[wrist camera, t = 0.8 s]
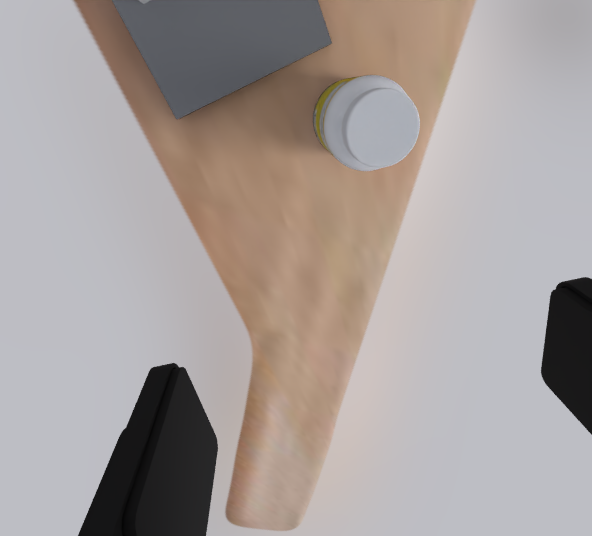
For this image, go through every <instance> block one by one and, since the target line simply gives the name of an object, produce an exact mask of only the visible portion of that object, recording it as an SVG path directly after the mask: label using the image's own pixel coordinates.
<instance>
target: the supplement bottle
mask: <svg viewBox="0 0 592 536" xmlns="http://www.w3.org/2000/svg"><path fill="white" fill-rule="evenodd" d="M313 126H314V131H315V134H316V136H317V138H318V140H319V141H320V143H321V144H322V145H323V147H325V148H326V149H327V150H328V151H329V152H330V153H331V154H332V155H333V156H334V157H335V158H336V159H337V160H339V161H340V162H341V163H342V164H344V165H345V166H347V167H349V168H352V169H355V170H359V171H373V170H377V169H380V168H383V167H388V166H391V165H394V164H396V163H398V162H399V161H401V160H402V159H403V158H405V157H406V156H407V155H408V153H409V152H410V151H411V150H412V148H413V146H414V145H415V143H416V140H417V138H418V134H419V129H420V120H419V114H418V111H417V108H416V106H415V104H414V103H413V101H412V100H411V99H410V98H409V97H408V95H407V94H406V92H405V91H404V90H403V88H402V87H401V86H400V85H398V84H397V83H396V82H394V81H393V80H391V79H389V78H386V77H383V76H378V75H366V76H360V77H354V78H348V79H343V80H340V81H338V82H336V83H334V84H332V85H331V86H329V87H328V88H327V89H326V90H325V91H324V92H323V93H322V94H321V96H320V97H319V99H318V101H317V103H316V105H315V109H314V113H313Z"/></svg>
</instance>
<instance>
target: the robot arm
mask: <svg viewBox="0 0 592 536" xmlns="http://www.w3.org/2000/svg"><path fill="white" fill-rule="evenodd" d="M541 374H542V377H543V380H544V382H545V383H546V385H547V386H548V387H549V388H550V389H551V390H552V391H553V392H554V394H555V395H556V396H557V397H558V398H559V399H560V400H561V401H562V402H563V404H565V406H566V407H567V408H568V409H569V410H570V411H571V412H572V413H573V414H574V416H575V417H576V418H577V419H578V420H579V421H580V422H581V423H582V424H583V425H584V427H585V428H586V429H587V430H588V431H589V432H590V433H591V434H592V279H590V278H586V277H585V278H579V279H574V280H569V281H565V282H561V283H559V284H558V285H557V287H556V289H555V290H553V291H552V292H551V296H550V304H549V312H548V320H547V328H546V336H545V344H544V352H543V359H542V367H541ZM217 451H218V444H217V438H216V435H215V433H214V431H213V428H212V426H211V424H210V422H209V420H208V417H207V415H206V413H205V411H204V409H203V406H202V404H201V402H200V400H199V397H198V395H197V393H196V391H195V389H194V386H193V384H192V382H191V380H190V378H189V376H188V373H187V371H186V369H185V368H184V367H181V368H179V367H178V365H177V364H175V363H172V364H167V365H162V366H157V367H153V368H151V370H150V371H149V373H148V376H147V378H146V381H145V383H144V386H143V388H142V390H141V393H140V395H139V398H138V401H137V403H136V405H135V407H134V410H133V412H132V415H131V417H130V420H129V422H128V425H127V427H126V428H125V429H124V430H123V432H122V433H121V435H120V437H119V439H118V441H117V444H116V446H115V449H114V451H113V453H112V456H111V458H110V461H109V463H108V465H107V468H106V470H105V473H104V475H103V477H102V480H101V482H100V484H99V487H98V489H97V492H96V494H95V497H94V499H93V501H92V504H91V506H90V508H89V511H88V513H87V515H86V518H85V520H84V523H83V525H82V528H81V530H80V532H79V535H78V536H206V531H207V524H208V516H209V509H210V502H211V495H212V488H213V480H214V473H215V466H216V458H217Z"/></svg>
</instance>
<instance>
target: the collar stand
mask: <svg viewBox="0 0 592 536" xmlns="http://www.w3.org/2000/svg"><path fill="white" fill-rule="evenodd" d="M112 1H113V3H114V5H115V7H116V9H117V10H118V12H119V14H120V16H121V18H122V20H123V22H124V23H125V25H126V27H127V29H128V31H129V33H130V34H131V36H132V38H133V40H134V42H135V44H136V45H137V47H138V49H139V51H140V53H141V55H142V57H143V58H144V60H145V62H146V64H147V66H148V68H149V69H150V71H151V73H152V75H153V77H154V79H155V80H156V82H157V84H158V86H159V88H160V90H161V92H162V93H163V95H164V97H165V99H166V101H167V103H168V104H169V106H170V108H171V110H172V112H173V114H174V115H175V117H176V119H179V118H181V117H184V116H186V115H188V114H190V113H192V112H194V111H196V110H198V109H200V108H202V107H204V106H206V105H208V104H210V103H212V102H214V101H216V100H218V99H220V98H222V97H224V96H226V95H228V94H230V93H232V92H234V91H236V90H238V89H240V88H242V87H244V86H247V85H249V84H251V83H253V82H255V81H257V80H259V79H261V78H263V77H265V76H267V75H269V74H271V73H273V72H275V71H277V70H279V69H281V68H283V67H285V66H287V65H289V64H291V63H293V62H295V61H297V60H299V59H301V58H303V57H305V56H307V55H310V54H312V53H314V52H316V51H318V50H320V49H322V48H324V47H326V46H328V45H330V44H331V43H332V42H331V39H330V36H329V33H328V30H327V27H326V24H325V21H324V18H323V15H322V12H321V9H320V6H319V3H318V0H112Z"/></svg>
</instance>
